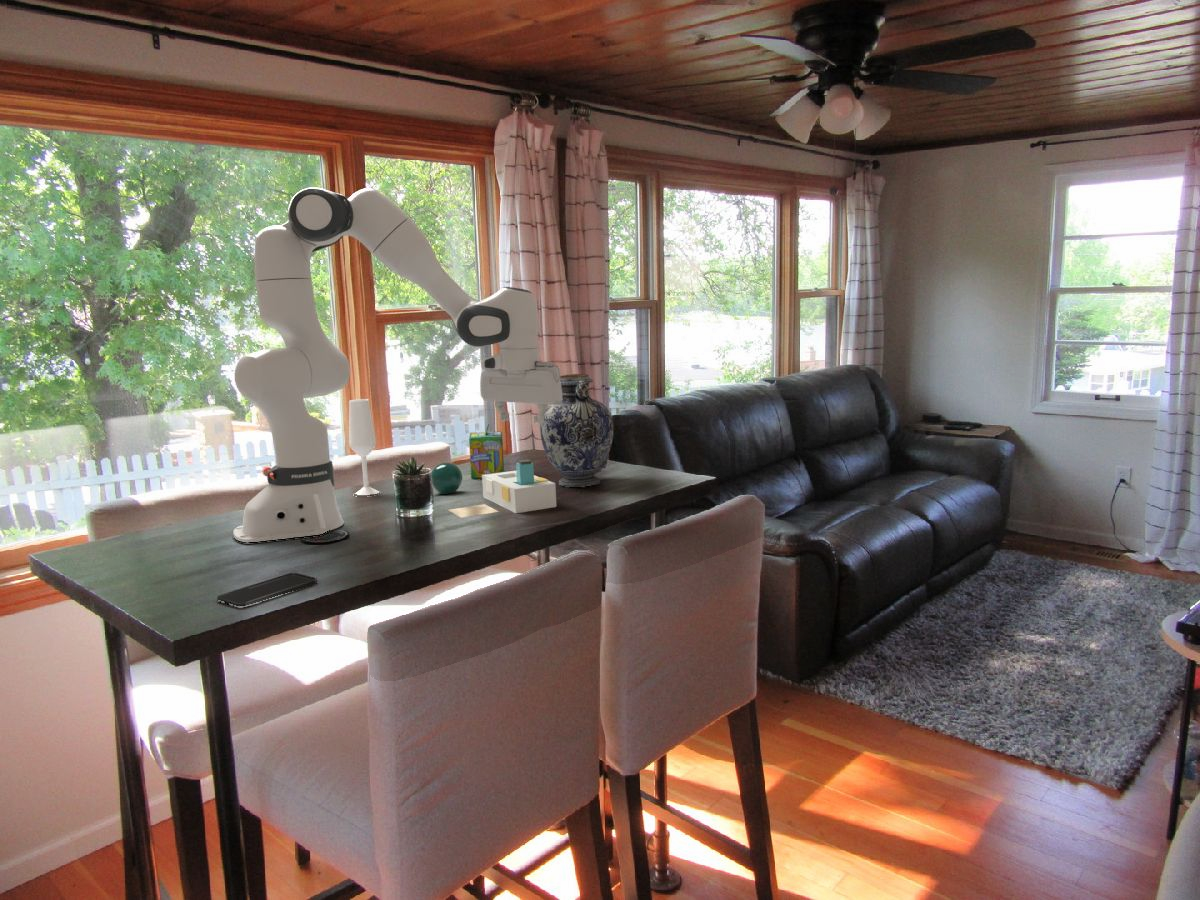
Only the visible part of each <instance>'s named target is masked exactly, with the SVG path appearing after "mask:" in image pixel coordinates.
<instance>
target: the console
mask: <svg viewBox="0 0 1200 900" xmlns="http://www.w3.org/2000/svg"><path fill="white" fill-rule="evenodd" d="M481 481H482V482H481V483H482V496H483V498H485V499H486V500H488V501H490V502H492V503H494V504H496V505H498V506H501V507H503V508H504V509H506V510H508V511H510V512H512V513H514V514H520V513H526V512H532V511H533V512H534V511H537V510H538V511H539V510H546V509H551V508H556V507H557V494H556V493H557V492H556V490H557V489H556V483H555V482H553V481H550V480H549V479H547V478H544V477H539V476H537V475H535V474H534V484H529V485H522V486H521V485H518V484H517V473H516V470H511V471H504V472H501V473H494V474H487V475H482V478H481Z"/></svg>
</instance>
